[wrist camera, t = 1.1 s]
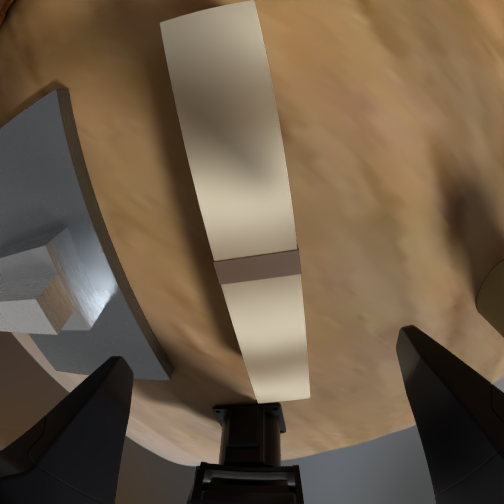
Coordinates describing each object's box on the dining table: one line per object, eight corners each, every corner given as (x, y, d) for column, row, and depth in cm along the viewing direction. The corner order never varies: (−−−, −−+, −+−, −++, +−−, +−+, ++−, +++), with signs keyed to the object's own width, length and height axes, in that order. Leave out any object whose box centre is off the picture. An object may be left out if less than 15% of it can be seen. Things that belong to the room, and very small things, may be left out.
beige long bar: (305, 359, 21) (310, 398, 17) (258, 364, 21) (257, 403, 18) (256, 25, 10) (255, -1, 7) (182, 41, 11) (158, 22, 7)
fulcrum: (173, 369, 22) (157, 429, 16) (60, 362, 23) (38, 404, 18) (68, 88, 11) (-7, 95, 6) (-35, 165, 13) (-83, 191, 8)
